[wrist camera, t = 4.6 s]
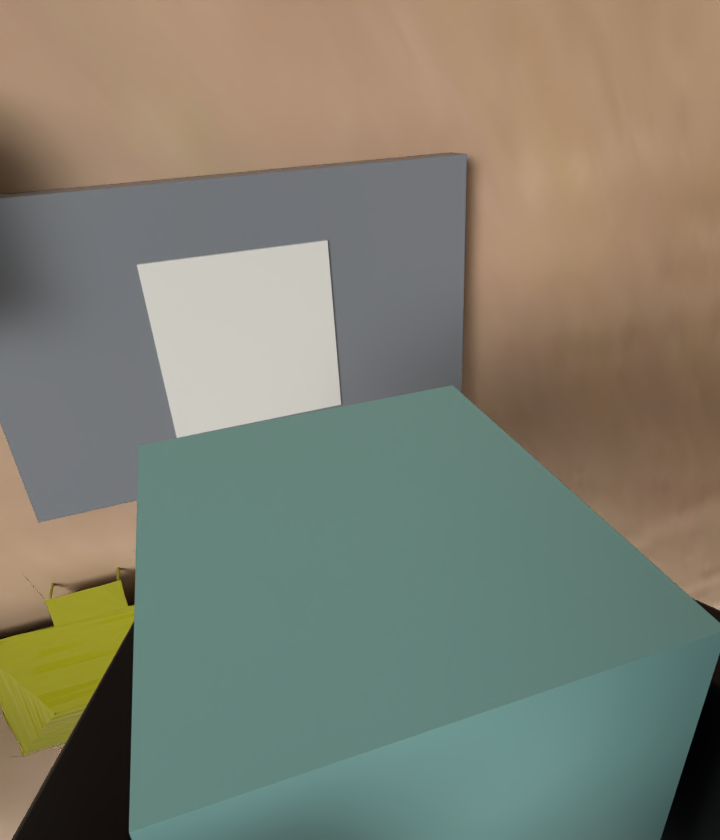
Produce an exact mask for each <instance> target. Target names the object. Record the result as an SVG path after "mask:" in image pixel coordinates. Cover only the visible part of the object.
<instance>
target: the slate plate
mask: <svg viewBox="0 0 720 840" xmlns="http://www.w3.org/2000/svg"><path fill="white" fill-rule="evenodd" d="M466 165H467V154H461V153H440V154H430V155H419V156H408V157H398V158H387V159H376V160H366V161H355V162H344V163H334V164H323V165H312V166H302V167H291V168H280V169H270V170H259V171H248V172H238V173H227V174H216V175H206V176H195V177H184V178H174V179H163V180H152V181H142V182H131V183H120V184H110V185H99V186H88V187H78V188H67V189H56V190H46V191H35V192H25V193H14V194H3V195H0V423H1V426H2V429H3V431H4V434H5V436H6V439H7V442H8V444H9V447H10V449H11V452H12V455H13V457H14V460H15V462H16V465H17V468H18V470H19V473H20V476H21V478H22V481H23V483H24V486H25V489H26V491H27V494H28V496H29V499H30V502H31V504H32V507H33V510H34V512H35V515H36V517H37V520H38V522H43V521H47V520H52V519H56V518H61V517H65V516H69V515H74V514H78V513H83V512H87V511H92V510H96V509H100V508H105V507H109V506H114V505H118V504H123V503H127V502H131V501H136V500H137V489H138V450H139V446H140V445H145V444H150V443H155V442H160V441H166V440H171V439H176V438H181V437H186V436H192V435H197V434H202V433H207V432H212V431H218V430H223V429H228V428H233V427H238V426H244V425H249V424H254V423H259V422H264V421H269V420H275V419H280V418H285V417H290V416H295V415H301V414H306V413H311V412H316V411H321V410H327V409H332V408H337V407H342V406H347V405H353V404H358V403H363V402H368V401H373V400H379V399H384V398H389V397H394V396H399V395H404V394H410V393H415V392H420V391H425V390H430V389H436V388H441V387H446V386H451V385H453V386H454V387H455V388H456V389H457V390H458V391H460V392H461V393H462V356H463V308H464V261H465V213H466Z"/></svg>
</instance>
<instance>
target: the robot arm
mask: <svg viewBox="0 0 720 840" xmlns="http://www.w3.org/2000/svg"><path fill="white" fill-rule="evenodd" d="M692 599H693V598H692ZM693 600H695V599H693ZM695 601H696V602H697V603H698V604H699V605H700V606H701V607H702V608H704V609H705V610H706V611H707V612H708V613H709V614H710V615H711V616H713V617H714V618H715V619H716V620H717V621H718V622H719V623H720V611H719V610H717V609H715V608H713V607H711V606H708V605H706V604H704V603H702V602H699V601H697V600H695ZM133 649H134V622H133V623H132V625H131V627H130V629H129V631H128V632H127V634H126V636H125V638H124V640H123V641H122V643H121V645H120V647H119V648H118V650H117V652H116V654H115V656H114V657H113V659H112V661H111V663H110V665H109V666H108V668H107V670H106V672H105V674H104V675H103V677H102V679H101V681H100V682H99V684H98V686H97V688H96V690H95V691H94V693H93V695H92V697H91V699H90V700H89V702H88V704H87V706H86V708H85V709H84V711H83V713H82V715H81V716H80V718H79V720H78V722H77V724H76V725H75V727H74V729H73V731H72V733H71V734H70V736H69V738H68V740H67V742H66V743H65V745H64V747H63V749H62V750H61V752H60V754H59V756H58V758H57V759H56V761H55V763H54V765H53V767H52V768H51V770H50V772H49V774H48V776H47V777H46V779H45V781H44V783H43V784H42V786H41V788H40V790H39V792H38V793H37V795H36V797H35V799H34V801H33V802H32V804H31V806H30V808H29V810H28V811H27V813H26V815H25V817H24V818H23V820H22V822H21V824H20V826H19V827H18V829H17V831H16V833H15V835H14V836H13V838H12V840H132V839H131V837H130V834H129V808H130V768H131V728H132V688H133ZM660 840H720V654H719V657H718V660H717V663H716V666H715V670H714V673H713V676H712V679H711V682H710V685H709V688H708V692H707V695H706V698H705V701H704V704H703V707H702V710H701V714H700V717H699V720H698V723H697V726H696V729H695V732H694V736H693V739H692V742H691V745H690V748H689V751H688V754H687V758H686V761H685V764H684V767H683V770H682V773H681V776H680V780H679V783H678V786H677V789H676V792H675V795H674V798H673V802H672V805H671V808H670V811H669V814H668V817H667V820H666V824H665V827H664V830H663V833H662V836H661V839H660Z"/></svg>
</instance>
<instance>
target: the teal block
mask: <svg viewBox="0 0 720 840" xmlns="http://www.w3.org/2000/svg"><path fill="white" fill-rule="evenodd" d="M719 654H720V623H719V622H718V621H717V620H716V619H715V618H714V617H713V616H711V615H710V614H709V613H708V612H707V611H706V610H705V609H704V608H702V607H701V606H700V605H699V604H698V603H697V602H696V601H695V600H693V599H692V598H691V597H690V596H689V595H688V594H687V593H686V592H684V591H683V590H682V589H681V588H680V587H679V586H678V585H677V584H675V583H674V582H673V581H672V580H671V579H670V578H669V577H668V576H666V575H665V574H664V573H663V572H662V571H661V570H660V569H659V568H658V567H656V566H655V565H654V564H653V563H652V562H651V561H650V560H649V559H647V558H646V557H645V556H644V555H643V554H642V553H641V552H640V551H638V550H637V549H636V548H635V547H634V546H633V545H632V544H631V543H629V542H628V541H627V540H626V539H625V538H624V537H623V536H622V535H620V534H619V533H618V532H617V531H616V530H615V529H614V528H613V527H611V526H610V525H609V524H608V523H607V522H606V521H605V520H604V519H602V518H601V517H600V516H599V515H598V514H597V513H596V512H595V511H593V510H592V509H591V508H590V507H589V506H588V505H587V504H586V503H584V502H583V501H582V500H581V499H580V498H579V497H578V496H577V495H575V494H574V493H573V492H572V491H571V490H570V489H569V488H568V487H566V486H565V485H564V484H563V483H562V482H561V481H560V480H559V479H557V478H556V477H555V476H554V475H553V474H552V473H551V472H550V471H548V470H547V469H546V468H545V467H544V466H543V465H542V464H541V463H539V462H538V461H537V460H536V459H535V458H534V457H533V456H532V455H530V454H529V453H528V452H527V451H526V450H525V449H524V448H523V447H521V446H520V445H519V444H518V443H517V442H516V441H515V440H514V439H512V438H511V437H510V436H509V435H508V434H507V433H506V432H505V431H503V430H502V429H501V428H500V427H499V426H498V425H497V424H496V423H494V422H493V421H492V420H491V419H490V418H489V417H488V416H487V415H485V414H484V413H483V412H482V411H481V410H480V409H479V408H478V407H476V406H475V405H474V404H473V403H472V402H471V401H470V400H469V399H467V398H466V397H465V396H464V395H463V394H462V393H461V392H460V391H458V390H457V389H456V388H455V387H454V386H453V385H451V386H446V387H441V388H436V389H430V390H425V391H420V392H415V393H410V394H404V395H399V396H394V397H389V398H384V399H379V400H373V401H368V402H363V403H358V404H353V405H347V406H342V407H337V408H332V409H327V410H321V411H316V412H311V413H306V414H301V415H295V416H290V417H285V418H280V419H275V420H269V421H264V422H259V423H254V424H249V425H244V426H238V427H233V428H228V429H223V430H218V431H212V432H207V433H202V434H197V435H192V436H186V437H181V438H176V439H171V440H166V441H160V442H155V443H150V444H145V445H140V446H139V450H138V489H137V529H136V569H135V609H134V649H133V688H132V728H131V768H130V808H129V834H130V837H131V839H132V840H660V839H661V836H662V833H663V830H664V827H665V824H666V820H667V817H668V814H669V811H670V808H671V805H672V802H673V798H674V795H675V792H676V789H677V786H678V783H679V780H680V776H681V773H682V770H683V767H684V764H685V761H686V758H687V754H688V751H689V748H690V745H691V742H692V739H693V736H694V732H695V729H696V726H697V723H698V720H699V717H700V714H701V710H702V707H703V704H704V701H705V698H706V695H707V692H708V688H709V685H710V682H711V679H712V676H713V673H714V670H715V666H716V663H717V660H718V657H719Z"/></svg>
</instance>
